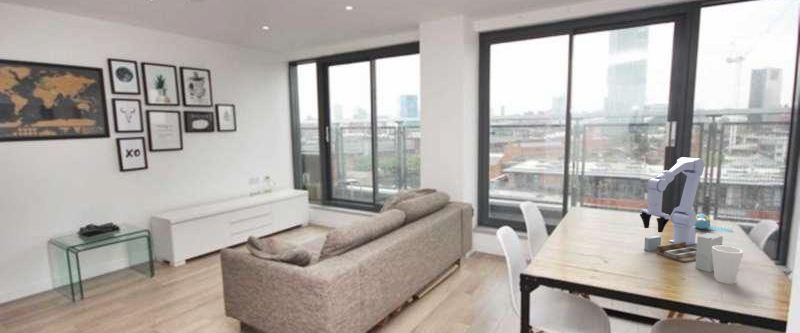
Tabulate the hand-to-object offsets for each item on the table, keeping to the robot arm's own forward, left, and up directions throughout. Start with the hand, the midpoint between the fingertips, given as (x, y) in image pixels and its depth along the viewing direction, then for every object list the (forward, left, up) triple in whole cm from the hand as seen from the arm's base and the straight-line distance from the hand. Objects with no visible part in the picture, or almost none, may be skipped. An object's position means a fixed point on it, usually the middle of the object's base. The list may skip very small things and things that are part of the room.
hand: (653, 230), depth 195 cm
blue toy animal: (-55, -17, -10) cm, 59 cm away
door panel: (0, 0, -10) cm, 10 cm away
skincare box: (+1, +27, -10) cm, 29 cm away
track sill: (-5, +12, -10) cm, 16 cm away
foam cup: (+7, +38, -10) cm, 40 cm away
